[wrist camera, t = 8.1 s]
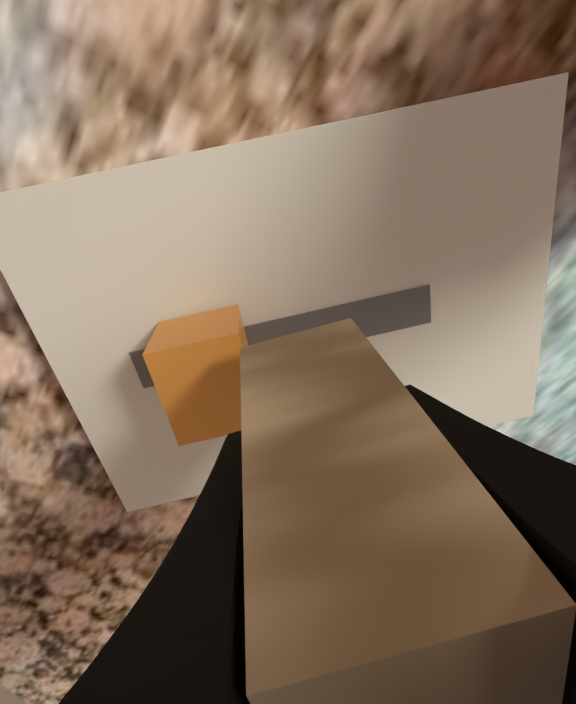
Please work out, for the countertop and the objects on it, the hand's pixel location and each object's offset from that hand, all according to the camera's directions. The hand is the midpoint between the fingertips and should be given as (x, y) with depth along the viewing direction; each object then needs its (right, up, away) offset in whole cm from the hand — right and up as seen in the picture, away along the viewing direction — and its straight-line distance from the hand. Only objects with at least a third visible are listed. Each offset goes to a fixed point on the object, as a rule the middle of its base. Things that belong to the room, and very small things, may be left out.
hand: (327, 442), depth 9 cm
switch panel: (0, +4, +7) cm, 8 cm away
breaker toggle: (-4, +2, +6) cm, 7 cm away
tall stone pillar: (0, +1, +2) cm, 3 cm away
